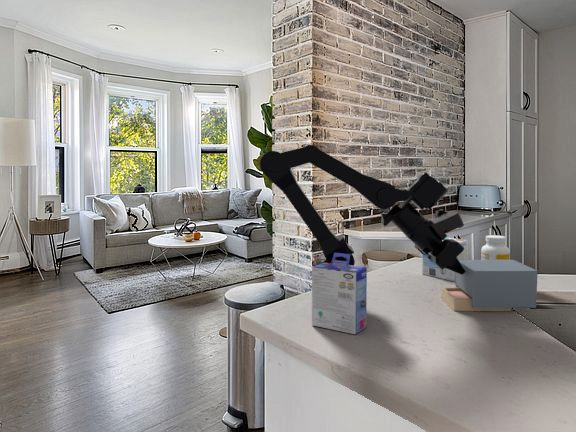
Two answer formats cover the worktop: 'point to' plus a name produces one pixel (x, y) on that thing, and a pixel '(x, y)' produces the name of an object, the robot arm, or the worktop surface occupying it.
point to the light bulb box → (447, 274)
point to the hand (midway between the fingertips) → (463, 272)
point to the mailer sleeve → (498, 283)
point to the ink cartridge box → (339, 295)
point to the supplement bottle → (495, 248)
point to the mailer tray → (462, 300)
